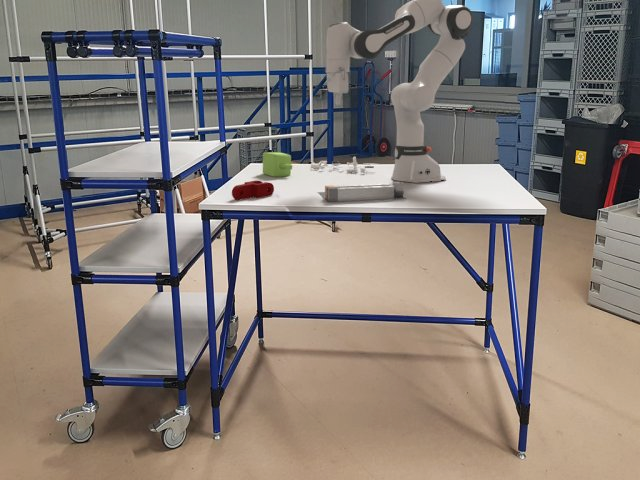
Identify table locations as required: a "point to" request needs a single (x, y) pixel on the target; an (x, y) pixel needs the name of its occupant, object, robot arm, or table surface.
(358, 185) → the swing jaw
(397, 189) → the block
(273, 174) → the gearbox
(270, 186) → the mechanical linkage
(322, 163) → the miniature set
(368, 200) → the mat
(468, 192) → the table surface
